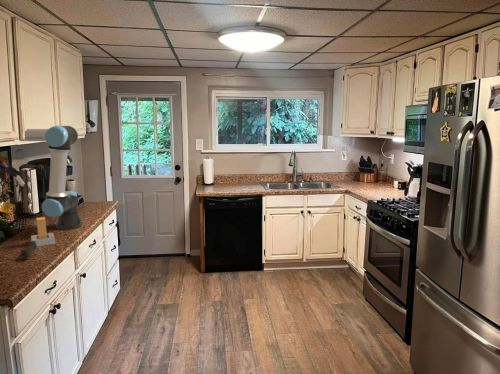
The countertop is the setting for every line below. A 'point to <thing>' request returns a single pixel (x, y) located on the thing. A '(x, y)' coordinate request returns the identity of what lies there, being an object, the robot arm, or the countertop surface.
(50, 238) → the square frame
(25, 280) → the countertop surface
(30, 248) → the hand tool
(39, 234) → the orange rectangular block
